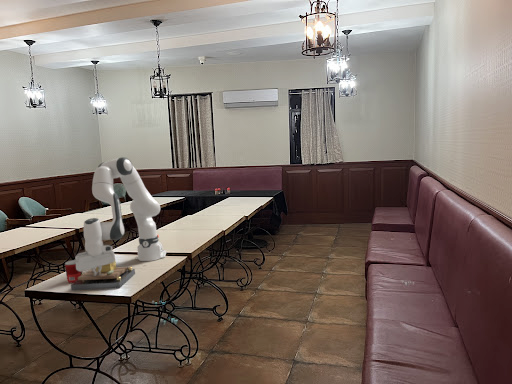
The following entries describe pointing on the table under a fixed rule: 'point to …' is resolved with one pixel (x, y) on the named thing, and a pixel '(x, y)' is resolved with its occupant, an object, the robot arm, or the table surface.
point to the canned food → (72, 271)
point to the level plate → (104, 272)
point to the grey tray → (104, 282)
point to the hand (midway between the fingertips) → (97, 275)
